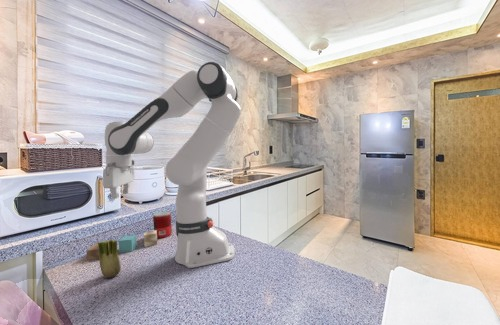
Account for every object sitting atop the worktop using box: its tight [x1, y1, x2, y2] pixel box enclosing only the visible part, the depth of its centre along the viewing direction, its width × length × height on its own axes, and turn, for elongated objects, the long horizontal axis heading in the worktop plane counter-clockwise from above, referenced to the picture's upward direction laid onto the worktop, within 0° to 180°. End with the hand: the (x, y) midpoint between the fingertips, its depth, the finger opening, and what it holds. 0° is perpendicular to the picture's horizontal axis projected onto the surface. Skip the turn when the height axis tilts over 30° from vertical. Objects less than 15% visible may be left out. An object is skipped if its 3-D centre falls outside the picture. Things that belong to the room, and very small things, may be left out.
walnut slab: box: [85, 241, 109, 261], centre depth 89 cm, size 7×7×4 cm
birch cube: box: [143, 229, 158, 248], centre depth 98 cm, size 5×5×5 cm
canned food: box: [152, 210, 173, 239], centre depth 107 cm, size 8×8×11 cm
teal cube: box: [118, 234, 138, 254], centre depth 93 cm, size 5×5×5 cm
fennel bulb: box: [97, 239, 121, 279], centre depth 73 cm, size 6×5×12 cm
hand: (120, 195), depth 90 cm, fingers open, 8 cm apart
